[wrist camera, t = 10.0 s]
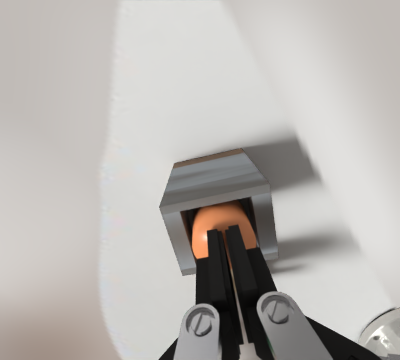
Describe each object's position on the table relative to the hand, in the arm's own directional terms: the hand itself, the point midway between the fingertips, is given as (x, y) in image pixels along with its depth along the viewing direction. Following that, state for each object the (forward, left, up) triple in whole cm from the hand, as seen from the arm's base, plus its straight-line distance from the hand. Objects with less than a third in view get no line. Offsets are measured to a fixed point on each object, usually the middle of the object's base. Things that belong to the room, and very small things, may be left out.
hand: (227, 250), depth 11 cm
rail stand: (-5, 0, -9) cm, 10 cm away
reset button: (0, 0, -3) cm, 3 cm away
